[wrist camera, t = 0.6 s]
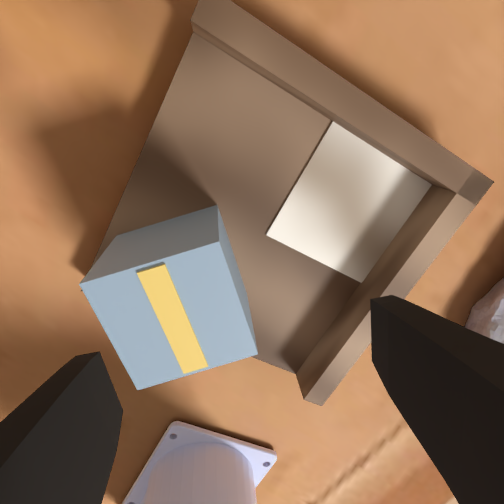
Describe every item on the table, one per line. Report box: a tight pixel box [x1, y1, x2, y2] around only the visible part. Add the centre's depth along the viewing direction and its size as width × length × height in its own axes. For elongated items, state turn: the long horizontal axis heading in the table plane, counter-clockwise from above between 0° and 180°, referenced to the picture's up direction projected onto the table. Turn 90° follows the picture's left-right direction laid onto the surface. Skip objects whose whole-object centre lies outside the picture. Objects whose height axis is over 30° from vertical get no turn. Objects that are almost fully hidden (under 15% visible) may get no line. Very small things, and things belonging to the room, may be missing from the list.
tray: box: [81, 0, 494, 406], centre depth 17 cm, size 14×14×3 cm
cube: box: [79, 205, 258, 390], centre depth 15 cm, size 5×5×5 cm
